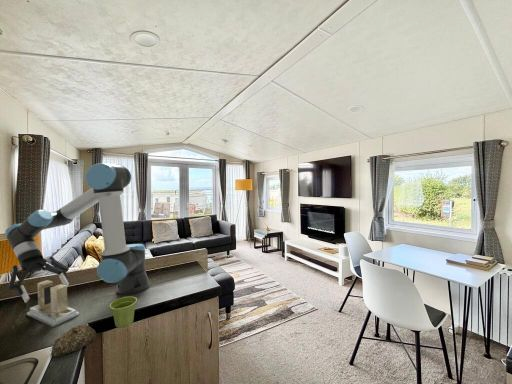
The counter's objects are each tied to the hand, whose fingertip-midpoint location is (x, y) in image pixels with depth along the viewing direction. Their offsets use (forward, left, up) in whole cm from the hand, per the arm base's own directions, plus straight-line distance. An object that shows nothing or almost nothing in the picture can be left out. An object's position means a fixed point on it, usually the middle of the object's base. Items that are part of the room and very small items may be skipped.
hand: (48, 292), depth 96 cm
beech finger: (+2, -1, -8) cm, 8 cm away
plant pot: (-37, +5, -9) cm, 38 cm away
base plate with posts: (-3, +1, -9) cm, 9 cm away
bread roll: (-26, +16, -9) cm, 31 cm away
